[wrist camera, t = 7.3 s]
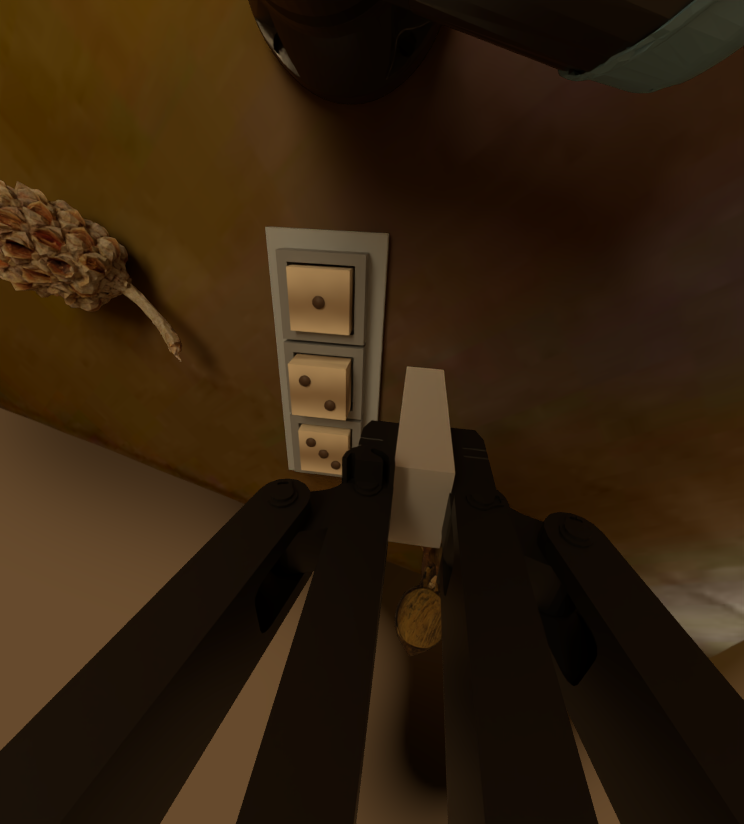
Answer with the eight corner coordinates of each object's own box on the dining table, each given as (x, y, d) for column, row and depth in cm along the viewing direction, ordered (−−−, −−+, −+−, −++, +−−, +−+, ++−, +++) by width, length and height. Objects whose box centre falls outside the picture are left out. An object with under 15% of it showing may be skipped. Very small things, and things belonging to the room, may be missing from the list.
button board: (270, 226, 35) (255, 227, 32) (389, 233, 34) (385, 235, 31) (291, 464, 50) (283, 479, 47) (374, 474, 49) (371, 490, 46)
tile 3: (305, 417, 44) (297, 431, 41) (352, 422, 43) (347, 436, 40) (308, 455, 47) (300, 470, 44) (352, 461, 46) (347, 476, 43)
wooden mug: (387, 514, 52) (370, 641, 37) (434, 451, 45) (438, 574, 30) (438, 538, 53) (444, 671, 38) (492, 480, 46) (526, 613, 31)
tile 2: (297, 353, 38) (287, 364, 35) (351, 358, 37) (345, 370, 35) (300, 402, 41) (291, 415, 38) (350, 407, 40) (345, 421, 38)
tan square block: (296, 262, 35) (285, 266, 32) (355, 266, 34) (349, 271, 31) (300, 322, 38) (290, 330, 35) (354, 326, 37) (348, 335, 34)
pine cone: (25, 242, 39) (-87, 250, 31) (38, 157, 35) (-89, 139, 26) (200, 361, 44) (145, 397, 35) (232, 299, 39) (177, 323, 31)
